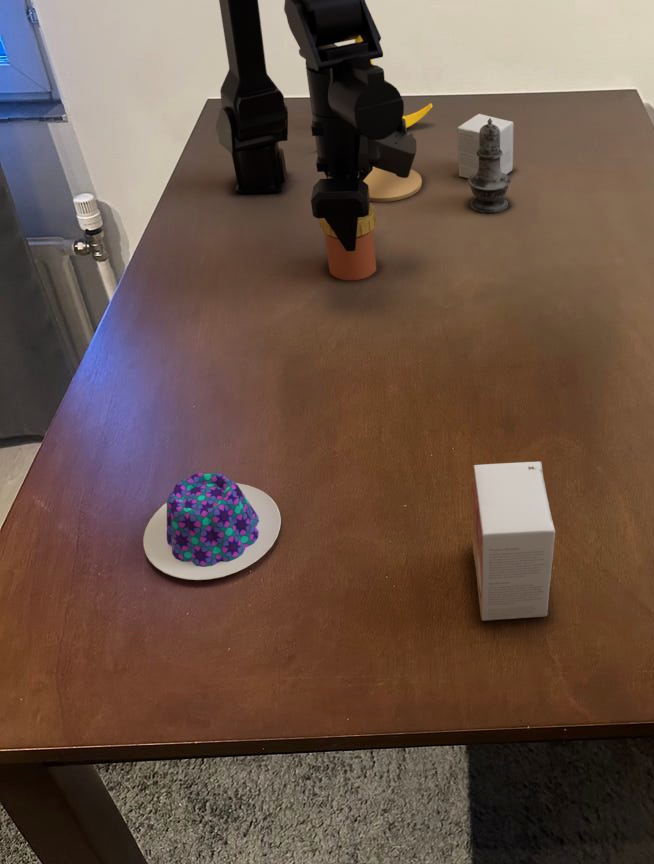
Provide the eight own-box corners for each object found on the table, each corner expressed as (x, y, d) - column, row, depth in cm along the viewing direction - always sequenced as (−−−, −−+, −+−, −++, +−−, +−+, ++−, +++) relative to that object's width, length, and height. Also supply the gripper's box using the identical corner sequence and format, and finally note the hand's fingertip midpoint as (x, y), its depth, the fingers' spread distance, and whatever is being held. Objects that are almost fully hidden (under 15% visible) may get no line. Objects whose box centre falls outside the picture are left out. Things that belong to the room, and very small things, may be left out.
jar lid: (376, 211, 111) (375, 197, 110) (374, 237, 107) (372, 223, 105) (323, 212, 111) (321, 198, 110) (318, 239, 106) (316, 224, 105)
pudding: (254, 594, 75) (242, 552, 71) (121, 575, 76) (103, 533, 73) (299, 496, 83) (291, 454, 80) (179, 481, 85) (165, 439, 81)
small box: (472, 551, 78) (471, 462, 71) (535, 547, 79) (541, 458, 71) (480, 623, 73) (480, 534, 65) (548, 618, 73) (556, 530, 66)
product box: (513, 170, 133) (515, 121, 128) (492, 186, 130) (492, 136, 125) (479, 161, 136) (479, 112, 131) (457, 176, 132) (456, 126, 127)
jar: (327, 281, 111) (320, 228, 106) (330, 257, 115) (323, 205, 110) (376, 279, 111) (371, 226, 106) (377, 255, 115) (372, 203, 110)
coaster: (344, 202, 126) (343, 198, 126) (348, 169, 134) (348, 165, 134) (421, 201, 126) (421, 197, 126) (422, 167, 134) (421, 163, 134)
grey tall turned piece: (511, 196, 128) (513, 110, 119) (508, 215, 123) (510, 127, 115) (470, 194, 128) (470, 108, 120) (466, 213, 124) (465, 126, 115)
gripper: (409, 141, 93) (417, 275, 104) (410, 76, 106) (417, 200, 117) (301, 144, 92) (321, 277, 103) (316, 78, 106) (332, 203, 117)
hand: (352, 237), depth 110 cm, fingers closed on jar lid, 6 cm apart
